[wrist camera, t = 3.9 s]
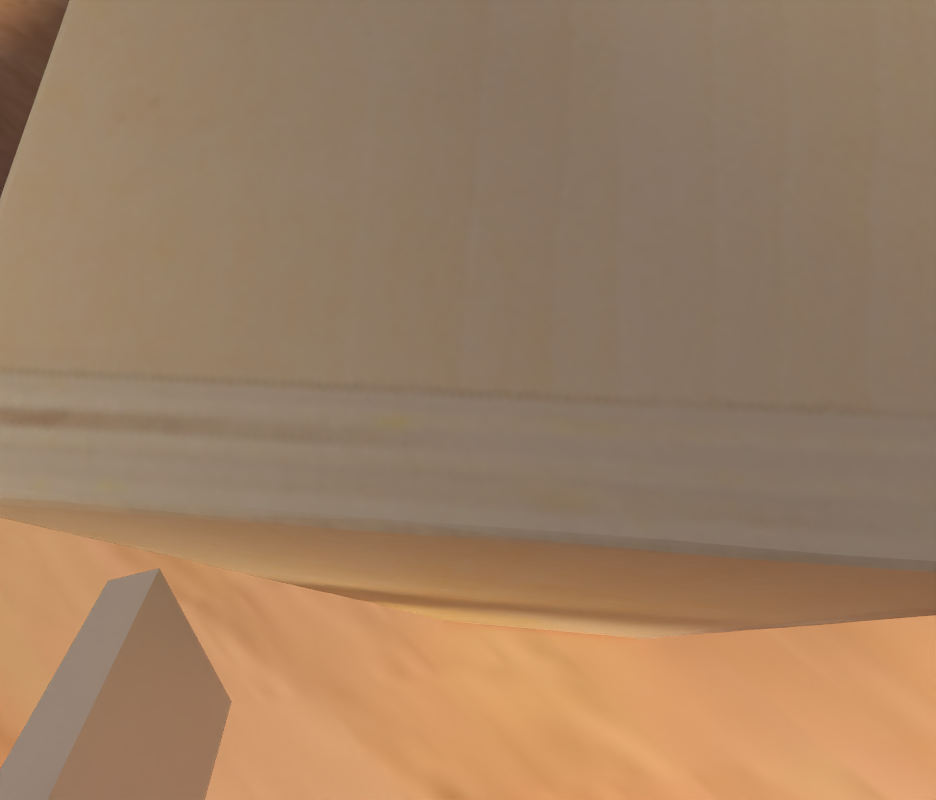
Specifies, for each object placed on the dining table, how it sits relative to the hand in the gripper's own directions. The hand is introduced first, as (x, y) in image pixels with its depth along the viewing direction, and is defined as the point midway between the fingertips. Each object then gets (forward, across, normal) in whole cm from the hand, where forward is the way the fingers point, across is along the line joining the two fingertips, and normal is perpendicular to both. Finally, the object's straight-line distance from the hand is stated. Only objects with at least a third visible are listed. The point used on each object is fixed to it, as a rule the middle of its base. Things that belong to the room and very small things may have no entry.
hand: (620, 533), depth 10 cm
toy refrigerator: (+12, -1, -8) cm, 14 cm away
